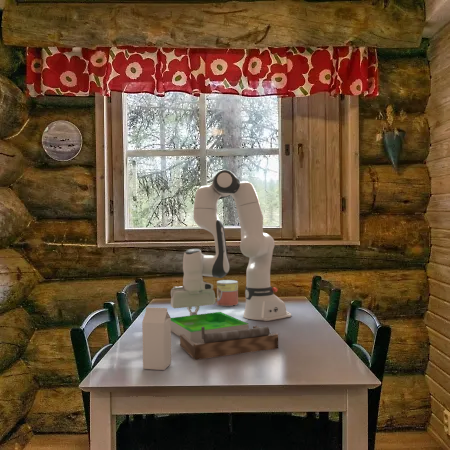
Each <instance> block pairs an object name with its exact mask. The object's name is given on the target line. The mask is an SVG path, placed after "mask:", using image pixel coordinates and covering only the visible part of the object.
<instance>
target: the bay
mask: <svg viewBox="0 0 450 450" xmlns="http://www.w3.org/2000/svg"><path fill="white" fill-rule="evenodd" d="M202 339H204V342H200V343H194V342H192V341H191V340H190V339H189V338H188V337H186V336H185V335H184V334H182V335H180V336H179V346H180V347H181V348H182V349H183V350H184V351H185V352H186V353H188V354H189V356H191V357H192V358H193V359H194V360H196V361H197V360H205V359H210V358H217V357H226V356H232V355H234V356H235V355H240V354H247V353H255V352H260V351H269V350H276V349H279V334H278V333H276V332H275V333H271V330H270V327H269V326H262V327H260V326H257V325H253V326H252V328H249V329H243V330H235V331H226V332H218V333H209V334H205V327H202Z"/></svg>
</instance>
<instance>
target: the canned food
mask: <svg viewBox="0 0 450 450" xmlns="http://www.w3.org/2000/svg"><path fill="white" fill-rule="evenodd" d="M237 304H238V305H239V281H238V280H234V279H221V280H217V281H216V305H217V306H219V305H220V307H234V306H233V305H235V306H238V305H237Z"/></svg>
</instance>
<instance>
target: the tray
mask: <svg viewBox="0 0 450 450" xmlns="http://www.w3.org/2000/svg"><path fill="white" fill-rule="evenodd" d="M170 318H171V333H173V334H175V335H177V336H178V337H180V335H182V334H184V335H185V336H186V337H188V338H189V339H190V340H191V341H192V342H194V343H201V342H204V339H202V327H205V334H209V333H218V332H226V331H235V330H243V329H250V328H249V323H248V322H245V321H243V320H241V319H238V318H236V317H234V316H231V315H229V314H226V313H223V312H222V311H217V312H207V313H201V314H197V315H191V316H190V315H184V316H175V317H170Z"/></svg>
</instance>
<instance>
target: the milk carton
mask: <svg viewBox="0 0 450 450" xmlns="http://www.w3.org/2000/svg"><path fill="white" fill-rule="evenodd" d="M171 318H172V317H171V315H170V313H169V312H168V308H167V307H153V306H152V307H149V306H148V307H147V306H146V307H145V312H144V316H143V319H142V322H141V324H142V330H141V331H142V334H141V335H142V369H143V370H157V371H165V370H166V369H167V368H168V367H169V366H170V365H171V364H172V331H171Z"/></svg>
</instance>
